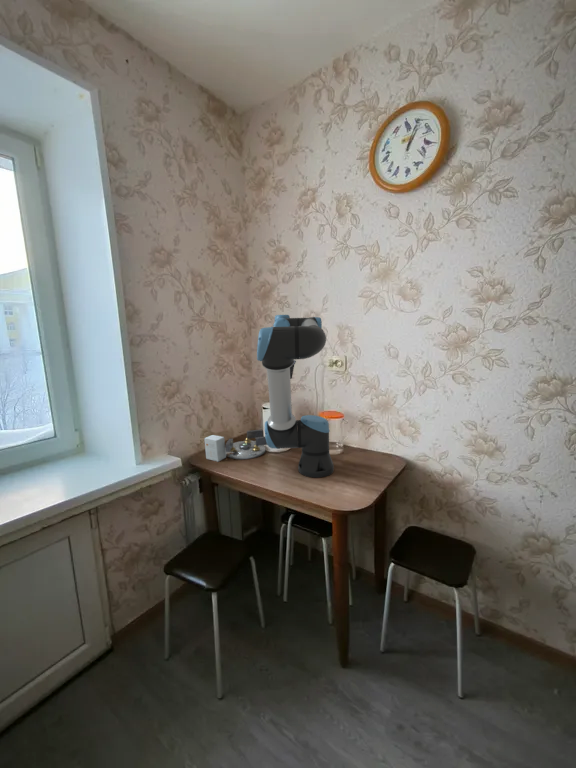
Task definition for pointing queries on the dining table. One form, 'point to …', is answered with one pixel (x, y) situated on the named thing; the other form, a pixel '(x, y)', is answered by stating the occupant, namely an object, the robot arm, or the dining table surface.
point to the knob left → (229, 445)
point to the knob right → (253, 435)
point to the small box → (215, 448)
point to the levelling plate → (245, 450)
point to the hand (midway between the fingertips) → (284, 392)
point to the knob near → (259, 443)
